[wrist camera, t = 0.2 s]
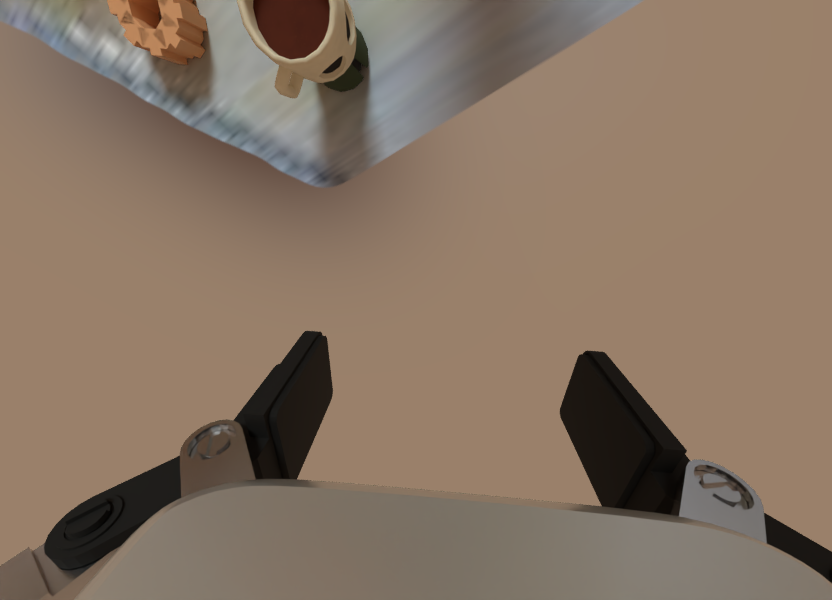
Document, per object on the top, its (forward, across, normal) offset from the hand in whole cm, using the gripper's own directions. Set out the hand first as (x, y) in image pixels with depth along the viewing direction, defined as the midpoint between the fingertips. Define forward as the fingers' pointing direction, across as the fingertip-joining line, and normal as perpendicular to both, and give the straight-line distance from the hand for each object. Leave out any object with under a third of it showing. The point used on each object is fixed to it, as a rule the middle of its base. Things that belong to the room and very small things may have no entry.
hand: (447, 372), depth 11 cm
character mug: (+31, +12, -16) cm, 37 cm away
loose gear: (+31, +30, -19) cm, 47 cm away
